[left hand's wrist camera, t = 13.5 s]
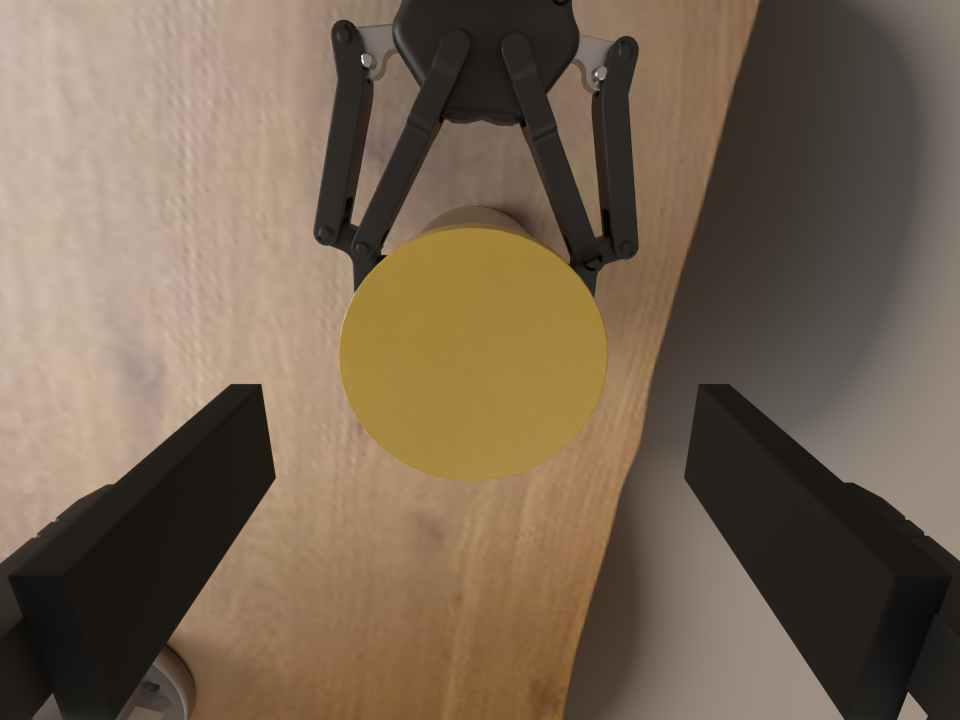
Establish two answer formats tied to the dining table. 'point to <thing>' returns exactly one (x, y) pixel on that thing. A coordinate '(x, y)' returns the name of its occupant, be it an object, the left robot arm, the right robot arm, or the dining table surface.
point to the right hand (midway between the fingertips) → (470, 377)
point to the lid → (473, 352)
